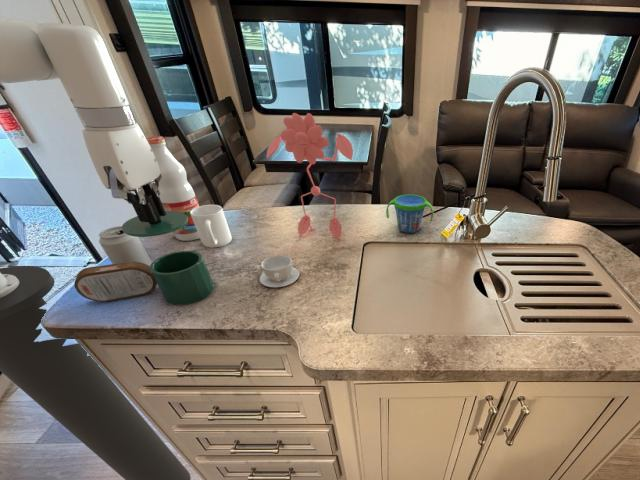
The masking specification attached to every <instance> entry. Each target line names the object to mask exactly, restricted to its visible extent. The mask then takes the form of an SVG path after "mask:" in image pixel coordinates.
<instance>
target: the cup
mask: <svg viewBox="0 0 640 480" xmlns="http://www.w3.org/2000/svg"><path fill="white" fill-rule="evenodd" d="M190 214H191V217H192V219H193V222H194V224H195V227H196V229H197V232H198V234H199V237H200V238H199V239H200V242H201V244H202V245H203V246H204V247H206V248H209V249H210V248H211V249H212V248H213V249H215V248H222V247H225V246H226V245H228V244H230V243H231V241H232V239H233V238H232V234H231V231H230V228H229V225H228V221H227V218H226V215H225V212H224V210H223V207H222V206H221V205H220V204H219V205H218V204H203V205H199V207H196V208H194V209H192V210H191V211H190Z"/></svg>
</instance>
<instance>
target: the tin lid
mask: <svg viewBox="0 0 640 480" xmlns="http://www.w3.org/2000/svg"><path fill="white" fill-rule="evenodd" d="M143 195H144V197H145V200H146V202H148V203H150V205H151V207H152V209H153V211H154V214H155V216H156V218H157V221H156V222H155V223H154V222H141V221H140V220H139V218H138V216H137V215H136V216H134V217H133V218H129V219H128V220H126V221H125V222H124V223H123V224H122V225H121V226H122V230H123V232H124V233H125V234H127V235H129V236H134V237H139V238H149V237H158V236H163V235H166V234H170V233H173V231H176V230H178V229H180V228H182V227H183V226H185V225H186V224H187V222H188V217H187V216H186V215H185V214H184V213H181V212H177V211H166V215H165V216H160V214H159V212H158V210H157V207H156V205H155V203H154V200H153V198H152V196H151V194H143Z"/></svg>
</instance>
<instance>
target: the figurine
mask: <svg viewBox="0 0 640 480" xmlns="http://www.w3.org/2000/svg"><path fill="white" fill-rule="evenodd" d="M283 124H284V125H285V127H286V129H283V130H282V131H281V132H280V134H278V135H277V136H276V137H274V139H272V140H271V142H270V144H269V146H268V148H267V151H266V156H265V157H266V158H265V159H269V158H271V157H272V156H273V155H274V154H275V153H276V152H277V150H278V149H279V147H280V145H281V142H283V143H284V144H285V145H284V148H285V151H286V152H288V153H292V155H293V158H294V160H295V161H296V163H298V164H301V163H303V162H304V161H307V162H308V163H309V164H308V165H307V167H306V172H307V175H308V178H309V179H310V182H311V184H312V187H311V188H310V192H307V193H305V194H302V195H301V196H300V200H301V205H302V209H303V214H304V215H303V216H302V217H301V219H300V220H299V221H298V225H297V232H298V233H297V234H298V236H299V237H301V236H303V235H304V234H306V233H307V232H308V230H309V229H310V230H311V231H314V229H313V226H312V225H311V219H312V218H311V217H310V216H309V215H308V214H306V210H305V205H304V199H303V197H306V196H307V195H311V194H312V195H313V196H315V197H318V196H319V195H322V196H325V197H327V198H330V199H333V200H334V204H333V205H334V207H333V217H332V218H331V219H330V220H329V224H328V228H329V231H330V233H331V235H332V237H334V238H335V239H336V240H340V237H341V235H342V224H341V223H340V221H339V219H337V218H336V209H337V207H336V206H337V204H336V203H337V199H336V198H335V197H332V196H329V195H327V194H325V193H322V192H321V188H320V187H319V186H317V185H315V183H314V181H313V178H312V175H311V172H310V170H309V169H310V168H311V166H312V165H315V164H316V162H317V159H318V160H325V161H330V162H331V161H332V162H336V160H337V156H338V152H339V153H340V154H341V155H342V156H343V157H345V158H346V159H348V160H350V161H352V160H353V156H354V155H353V154H354V149H353V145H352V143H351V141H350V140H349V139H348V138H347V137H346V136H345V135H343V134H341V133H339V132H338V133H337V134H336V138H335V142H336V145H335V151H334V158H330V157H325V153H324V151H323V149H324V148H326V147H327V146H328V145H329V140H328V138H326V136H325V137H324V136H323V128H322V126H321V125H320V124H317V125H316V120H315V118H314V116H313V115H312V113H309V112H308V113H306V115H305V116H304V118H303V117H302V115H300V114H298V113H297V112H293V113H292V114H291V117H289V116H288V117H287V116H286V117H284V118H283ZM295 228H296V226H294V227H293V229H295ZM295 248H296V249H298V250H300V248H299V247H296V246H295ZM343 248H344V246H343V247H338V250H340V249H343ZM301 250H303V251H304V249H302V248H301ZM335 250H337V248H335V249H333V251H335ZM305 251H307V252H310V250H309V249H305ZM314 252H315V253H316V252H323V250H314ZM329 252H332V249H329V250H327V253H329Z"/></svg>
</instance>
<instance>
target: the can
mask: <svg viewBox="0 0 640 480" xmlns="http://www.w3.org/2000/svg"><path fill="white" fill-rule="evenodd" d="M98 237H99V239H98V243H99V244H100V247H101V248H102V249H103V251H104V253H105V254H106V256H107V258H108V259H109V261H110V262H111V264H116V263H123V262H132V261H133V262H141V263H144V264H147V265H149V266H150V265H151V263H152V262H153V261H152V260H151V259H150V256H149V255H148V252H147V251H146V249H145V247H144V245H143V243H142V240H141V239H140V237H134V236H129V235H127V234H125V233H124V232H123V230H122V225H118V226H113V227H109V228H105V229H104V230H102V231H100V232H99V234H98Z"/></svg>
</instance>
